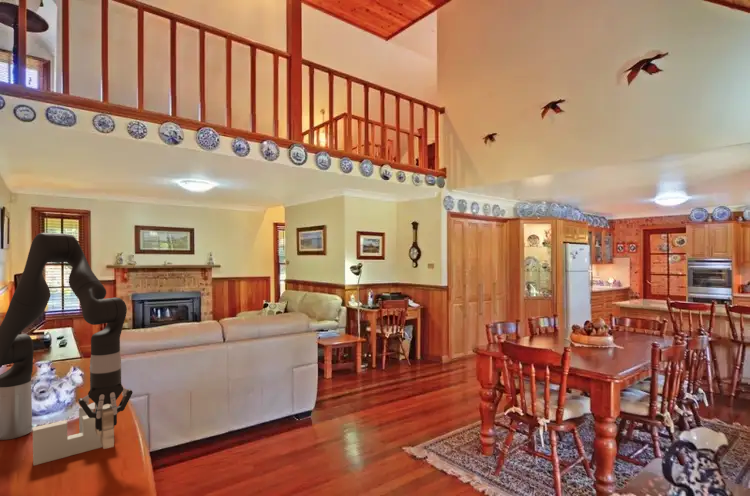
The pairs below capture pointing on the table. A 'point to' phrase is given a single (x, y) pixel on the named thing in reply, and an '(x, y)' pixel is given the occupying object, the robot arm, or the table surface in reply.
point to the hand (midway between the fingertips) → (106, 428)
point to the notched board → (63, 440)
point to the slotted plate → (106, 427)
